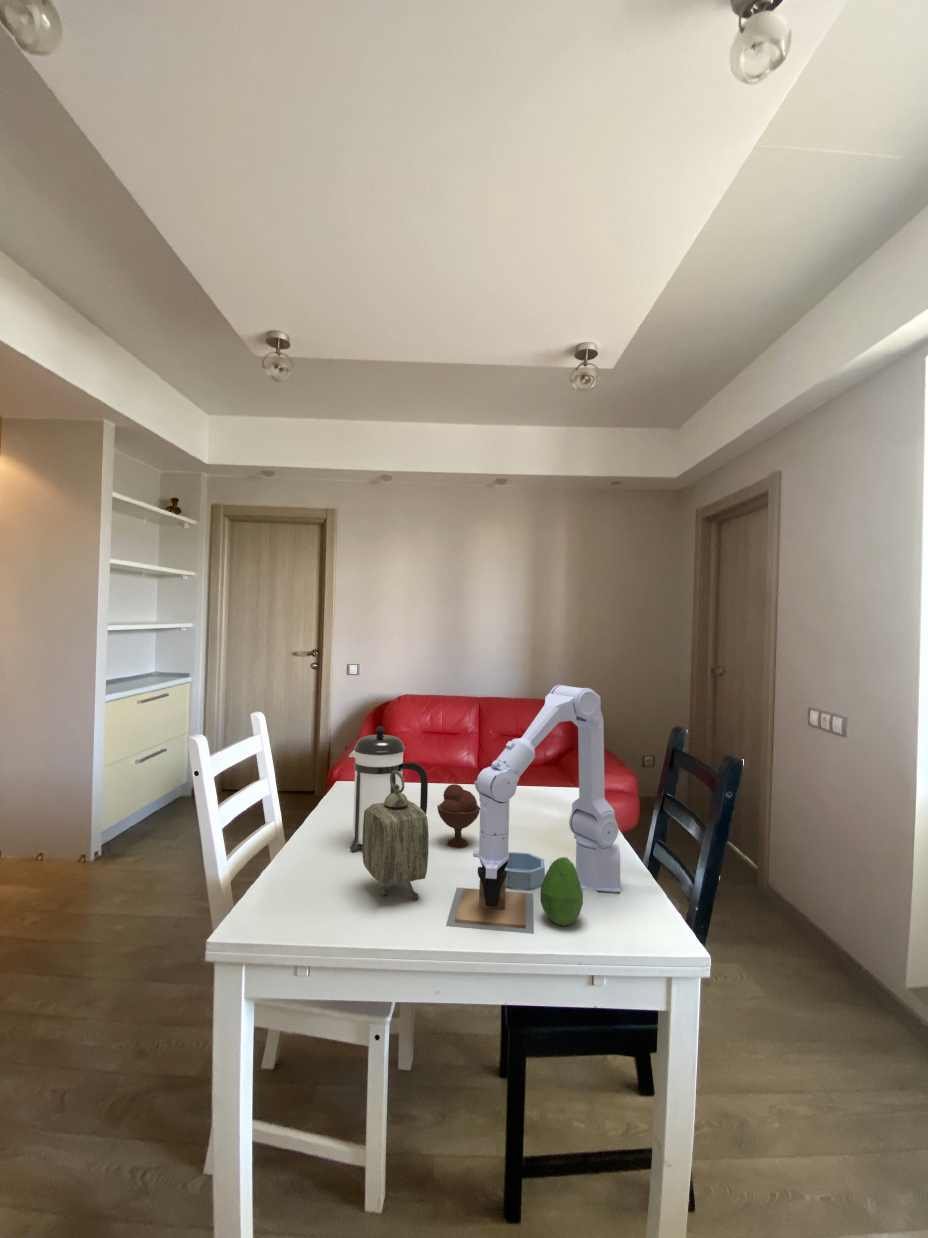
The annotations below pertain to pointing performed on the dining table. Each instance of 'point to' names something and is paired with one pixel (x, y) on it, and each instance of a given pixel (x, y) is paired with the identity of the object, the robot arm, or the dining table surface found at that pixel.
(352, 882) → the dining table surface
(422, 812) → the tabletop clock
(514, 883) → the bowl
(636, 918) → the dining table surface
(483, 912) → the cover board
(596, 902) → the dining table surface
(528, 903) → the mat
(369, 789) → the coffee press
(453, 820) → the ice cream bowl
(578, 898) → the avocado
